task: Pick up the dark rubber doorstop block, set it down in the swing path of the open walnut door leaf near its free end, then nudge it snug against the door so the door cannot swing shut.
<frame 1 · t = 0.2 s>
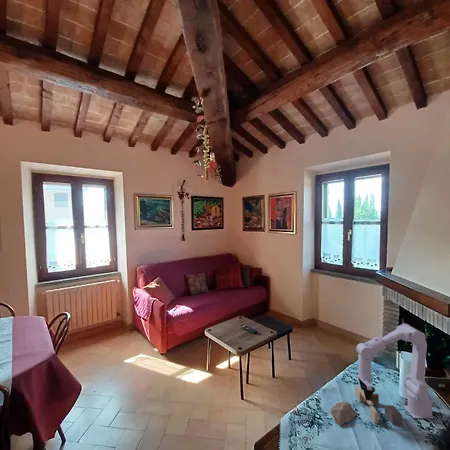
hand: (365, 394, 125), 10 cm above the table, fingers open, 7 cm apart
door: (371, 399, 131), point 2 cm above the table, hinge at 90.0°
wall frame: (368, 412, 126), on the table
doorstop: (393, 419, 121), on the table
concrete fragment: (343, 417, 123), on the table
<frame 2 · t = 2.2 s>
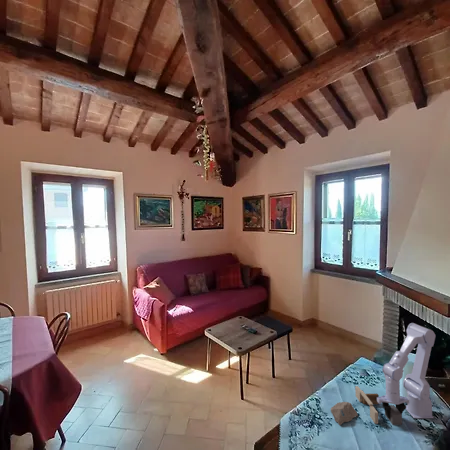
hand: (393, 416, 121), 1 cm above the table, fingers closed on doorstop, 4 cm apart
doorstop: (393, 419, 121), on the table, touching gripper
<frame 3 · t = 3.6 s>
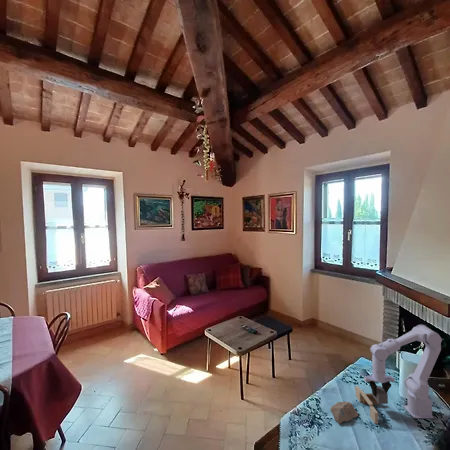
hand: (379, 395, 127), 8 cm above the table, fingers closed on doorstop, 4 cm apart
doorstop: (379, 399, 127), point 6 cm above the table, touching gripper
when the fingers open (2 cm above the table, at t = 5.0 s): doorstop stays where it is, on the table.
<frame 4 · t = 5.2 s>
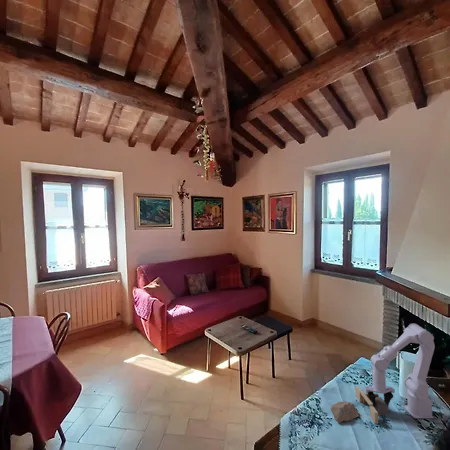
hand: (379, 405, 127), 2 cm above the table, fingers open, 6 cm apart
doorstop: (380, 410, 127), on the table
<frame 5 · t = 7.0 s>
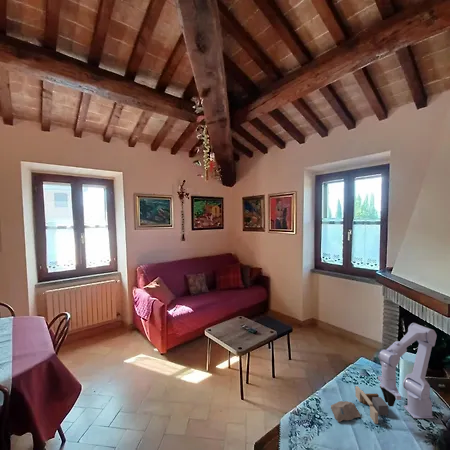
hand: (389, 403, 119), 9 cm above the table, fingers closed
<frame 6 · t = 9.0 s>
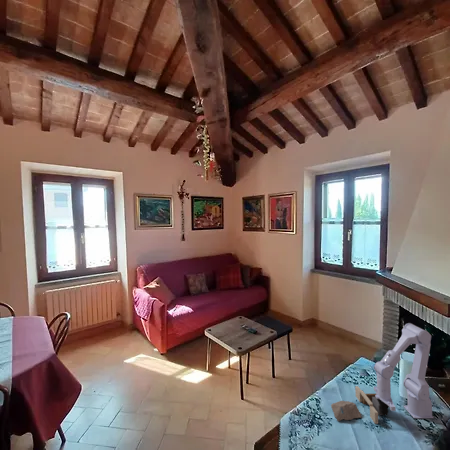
hand: (384, 414, 123), 1 cm above the table, fingers closed, pressing on doorstop
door: (371, 399, 131), point 2 cm above the table, hinge at 90.1°, touching doorstop
doorstop: (379, 410, 127), on the table, touching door, gripper
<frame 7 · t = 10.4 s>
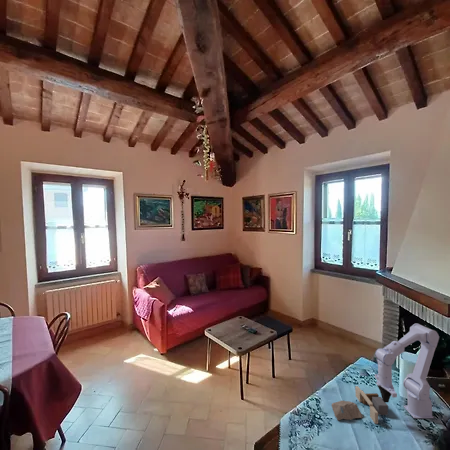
hand: (385, 401, 122), 8 cm above the table, fingers closed
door: (371, 399, 131), point 2 cm above the table, hinge at 90.9°
doorstop: (379, 410, 127), on the table
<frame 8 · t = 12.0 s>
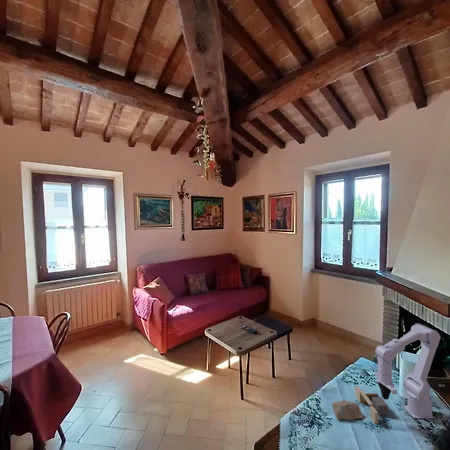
hand: (385, 398, 122), 10 cm above the table, fingers closed
at the end: doorstop 0.4 cm from the target spot, on the table; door at +91° (first picture: +90°); doorstop tilted 0° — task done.
